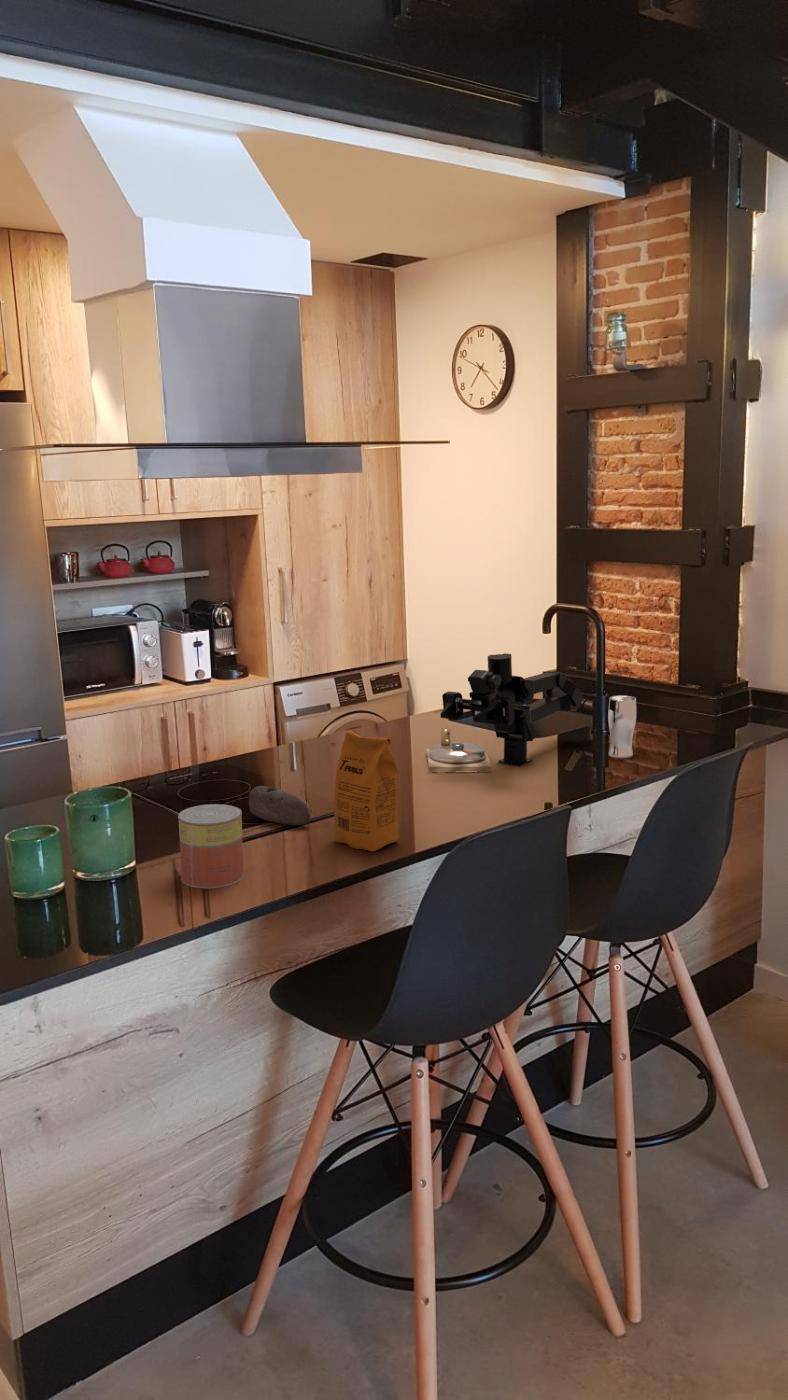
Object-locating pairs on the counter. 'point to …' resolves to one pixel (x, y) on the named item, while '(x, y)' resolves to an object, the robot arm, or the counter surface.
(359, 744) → the coffee package
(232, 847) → the canned food
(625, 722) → the beer glass
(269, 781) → the counter surface
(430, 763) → the base plate
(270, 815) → the perforated stone tool
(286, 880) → the counter surface
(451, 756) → the handwheel
